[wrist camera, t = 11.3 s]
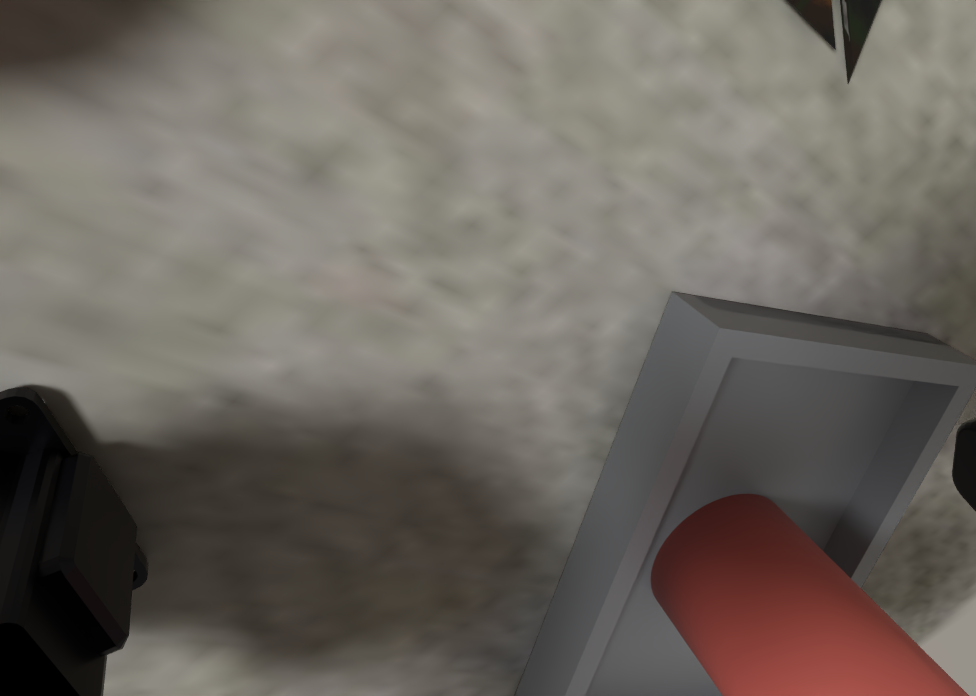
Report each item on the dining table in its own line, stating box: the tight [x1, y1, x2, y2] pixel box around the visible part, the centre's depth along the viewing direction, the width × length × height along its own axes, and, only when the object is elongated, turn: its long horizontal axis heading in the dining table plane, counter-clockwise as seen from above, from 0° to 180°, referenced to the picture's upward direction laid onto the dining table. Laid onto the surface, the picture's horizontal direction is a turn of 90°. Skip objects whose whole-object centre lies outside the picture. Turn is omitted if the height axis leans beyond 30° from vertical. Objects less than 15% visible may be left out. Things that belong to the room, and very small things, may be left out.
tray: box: [515, 292, 976, 696], centre depth 28 cm, size 11×18×2 cm, turn 164°
